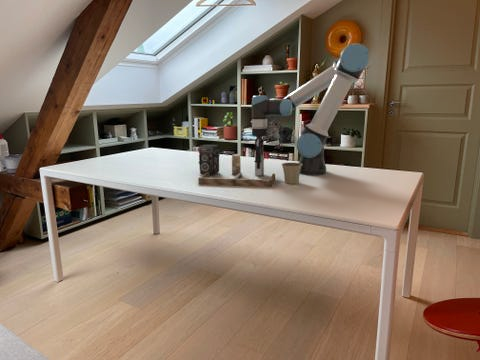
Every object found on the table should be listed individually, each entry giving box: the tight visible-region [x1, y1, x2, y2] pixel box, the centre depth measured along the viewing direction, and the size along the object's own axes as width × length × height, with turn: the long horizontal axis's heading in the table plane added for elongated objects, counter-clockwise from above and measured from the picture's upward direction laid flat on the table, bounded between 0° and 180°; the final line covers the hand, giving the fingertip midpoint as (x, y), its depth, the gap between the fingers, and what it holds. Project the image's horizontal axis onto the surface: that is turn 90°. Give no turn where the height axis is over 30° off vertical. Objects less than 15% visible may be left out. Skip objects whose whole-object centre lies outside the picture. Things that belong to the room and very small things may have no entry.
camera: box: [197, 144, 221, 176], centre depth 183 cm, size 10×10×15 cm
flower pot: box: [281, 162, 302, 185], centre depth 165 cm, size 9×9×9 cm
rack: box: [197, 172, 276, 188], centre depth 168 cm, size 34×14×3 cm, turn 79°
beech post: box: [231, 153, 242, 176], centre depth 183 cm, size 4×4×10 cm
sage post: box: [254, 154, 265, 177], centre depth 180 cm, size 4×4×10 cm
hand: (259, 173), depth 181 cm, fingers closed on sage post, 4 cm apart
